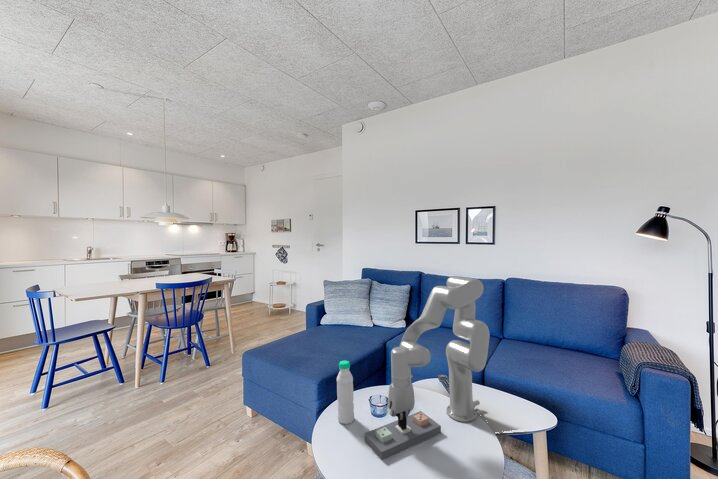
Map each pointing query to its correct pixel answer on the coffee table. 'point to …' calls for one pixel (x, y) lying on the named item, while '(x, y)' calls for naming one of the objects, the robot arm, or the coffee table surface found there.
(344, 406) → the water bottle
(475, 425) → the coffee table surface
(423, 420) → the three pip key
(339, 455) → the coffee table surface
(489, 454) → the coffee table surface
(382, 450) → the key board
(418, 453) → the coffee table surface
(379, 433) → the two pip key
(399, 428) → the one pip key
